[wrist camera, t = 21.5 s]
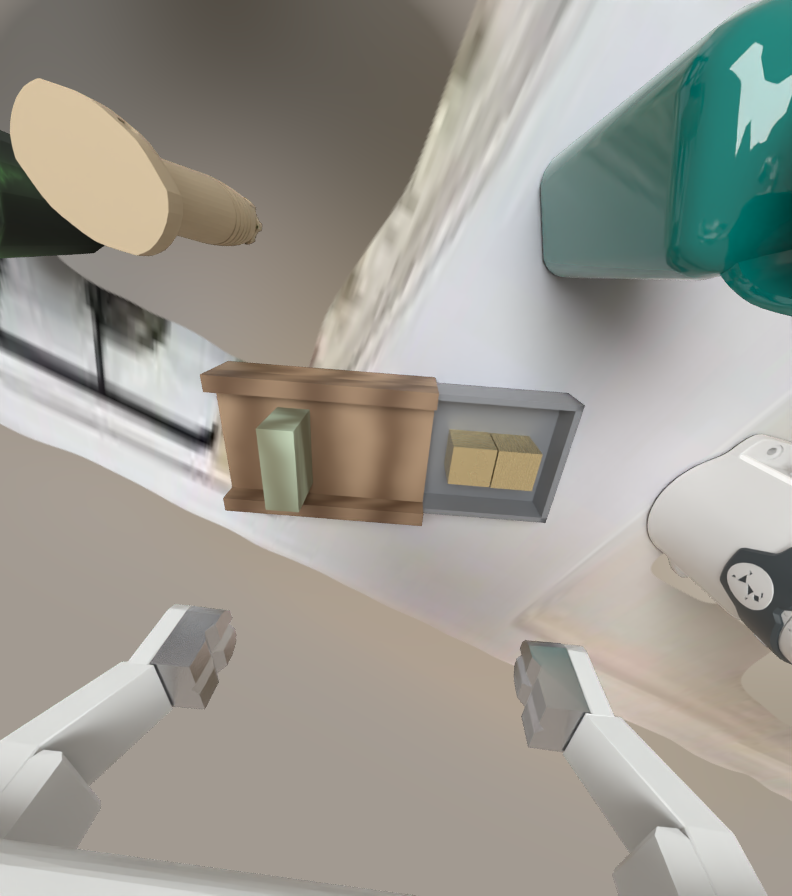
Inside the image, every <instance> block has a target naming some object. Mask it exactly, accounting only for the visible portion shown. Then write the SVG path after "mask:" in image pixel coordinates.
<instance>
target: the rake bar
mask: <svg viewBox="0 0 792 896" xmlns="http://www.w3.org/2000/svg"><path fill="white" fill-rule="evenodd" d="M256 435H257V443H258V451H259V459H260V467H261V475H262V483H263V491H264V499H265V507H266V510H275V511H287V512H299V511H300V509H301V507H302V505H303V503H304V501H305V498H306V496H307V494H308V492H309V490H310V488H311V486H312V483H313V474H312V451H311V429H310V410H309V409H296V408H284V407H277V408H276V409H275V410H274V411H273V412H272V413H271V414H270V415H269V416H268V417H267V418H266V419H265V420H264V421H263V422H262V423H261V424H260V425H259V426H258V427H257V428H256Z"/></svg>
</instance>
